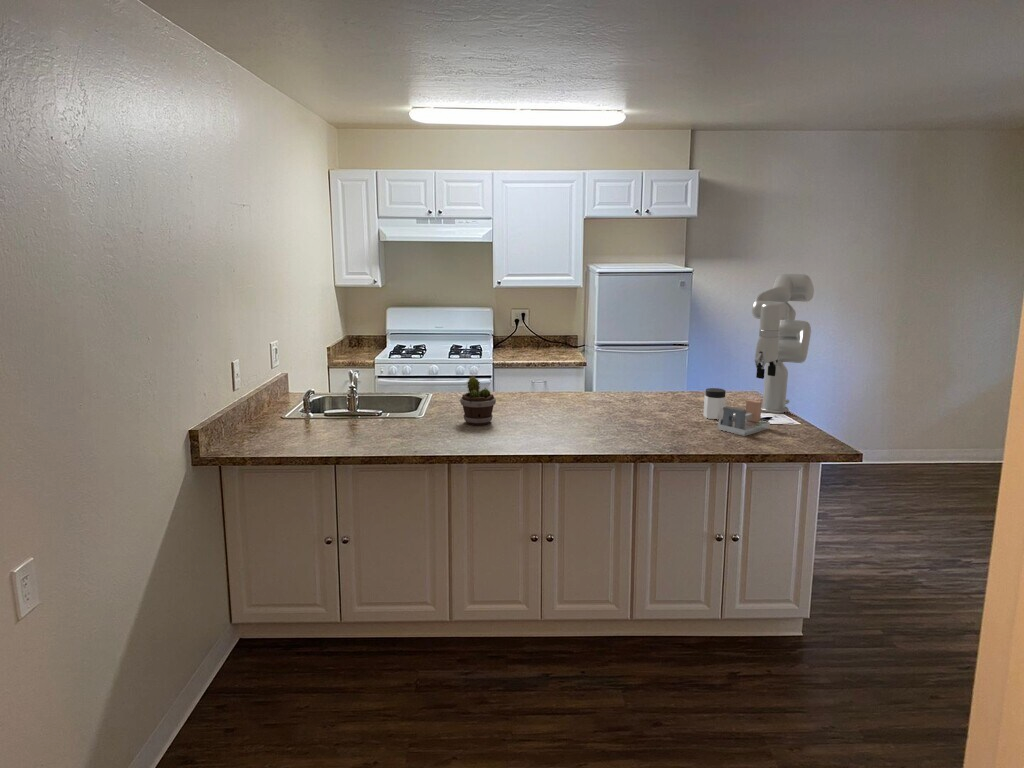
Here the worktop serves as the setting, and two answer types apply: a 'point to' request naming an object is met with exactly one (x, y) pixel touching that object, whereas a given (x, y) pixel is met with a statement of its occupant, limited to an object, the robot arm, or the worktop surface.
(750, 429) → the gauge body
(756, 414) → the plunger
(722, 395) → the jar
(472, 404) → the flowerpot
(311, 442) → the worktop surface
